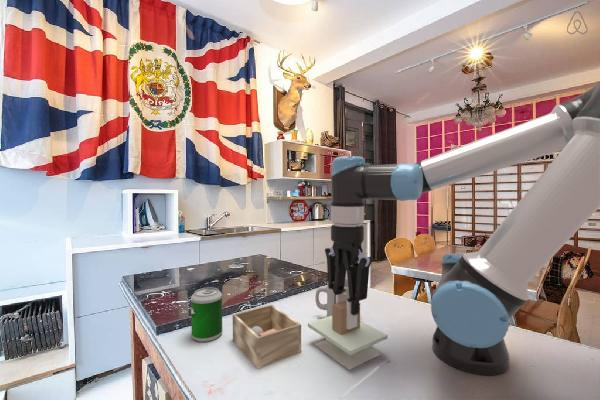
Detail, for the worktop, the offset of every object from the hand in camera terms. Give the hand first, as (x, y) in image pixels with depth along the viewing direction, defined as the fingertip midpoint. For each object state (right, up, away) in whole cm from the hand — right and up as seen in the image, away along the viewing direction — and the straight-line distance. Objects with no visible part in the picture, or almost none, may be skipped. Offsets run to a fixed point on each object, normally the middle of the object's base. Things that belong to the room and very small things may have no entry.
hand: (346, 323), depth 68 cm
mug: (0, -6, +17) cm, 18 cm away
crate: (-19, -6, +2) cm, 20 cm away
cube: (-17, -6, -1) cm, 18 cm away
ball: (-22, -6, +3) cm, 23 cm away
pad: (0, -7, 0) cm, 7 cm away
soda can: (-35, -6, +7) cm, 36 cm away
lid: (0, -2, 0) cm, 2 cm away
